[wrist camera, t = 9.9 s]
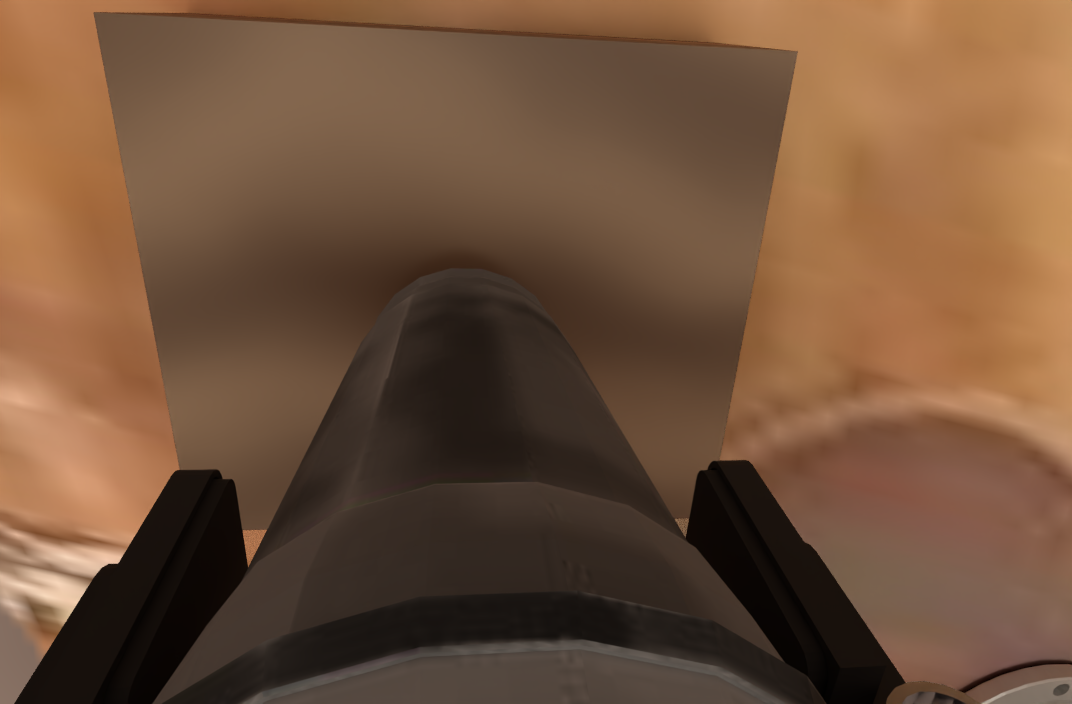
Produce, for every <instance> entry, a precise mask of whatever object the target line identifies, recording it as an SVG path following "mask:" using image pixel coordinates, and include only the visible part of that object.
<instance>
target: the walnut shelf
mask: <svg viewBox="0 0 1072 704" xmlns="http://www.w3.org/2000/svg"><path fill="white" fill-rule="evenodd" d="M94 17H95V23H96V28H97V33H98V39H99V44H100V49H101V54H102V60H103V65H104V70H105V76H106V81H107V86H108V92H109V97H110V102H111V107H112V113H113V118H114V123H115V129H116V134H117V139H118V145H119V150H120V155H121V160H122V166H123V171H124V176H125V182H126V187H127V192H128V198H129V203H130V208H131V213H132V219H133V224H134V229H135V235H136V240H137V245H138V251H139V256H140V261H141V266H142V272H143V277H144V282H145V288H146V293H147V298H148V303H149V309H150V314H151V319H152V325H153V330H154V335H155V341H156V346H157V351H158V356H159V362H160V367H161V372H162V378H163V383H164V388H165V394H166V399H167V404H168V409H169V415H170V420H171V425H172V431H173V436H174V441H175V447H176V452H177V457H178V462H179V468H180V470H207V469H217V470H219V471H220V473H221V475H222V478H223V479H232V480H233V481H234V483H235V486H236V492H237V498H238V505H239V511H240V518H241V525H242V530H265V529H268V527H269V525H270V523H271V521H272V519H273V517H274V515H275V513H276V511H277V509H278V507H279V505H280V503H281V501H282V499H283V497H284V495H285V493H286V491H287V489H288V487H289V485H290V483H291V481H292V480H293V478H294V476H295V474H296V472H297V470H298V468H299V466H300V464H301V462H302V460H303V458H304V456H305V454H306V452H307V450H308V448H309V446H310V444H311V442H312V440H313V438H314V436H315V434H316V432H317V430H318V428H319V426H320V424H321V422H322V420H323V418H324V416H325V414H326V412H327V410H328V408H329V406H330V404H331V402H332V400H333V398H334V396H335V394H336V392H337V390H338V388H339V386H340V384H341V382H342V380H343V378H344V376H345V374H346V372H347V370H348V368H349V366H350V364H351V362H352V360H353V358H354V356H355V354H356V352H357V350H358V348H359V346H360V344H361V342H362V341H363V339H364V338H365V337H366V335H367V334H368V333H369V331H370V330H371V329H372V327H373V326H374V325H375V323H376V320H377V317H378V316H379V315H380V313H381V312H382V311H383V309H384V308H385V307H386V305H387V304H388V303H389V301H390V300H391V299H392V297H393V296H394V295H395V294H396V293H398V292H399V291H401V290H402V289H403V288H405V287H406V286H408V285H409V284H411V283H412V282H414V281H415V280H417V279H418V278H420V277H423V276H426V275H429V274H433V273H436V272H440V271H443V270H447V269H450V268H460V269H484V270H487V271H490V272H493V273H496V274H499V275H502V276H505V277H508V278H511V279H513V280H514V281H516V282H517V283H518V284H520V285H521V286H522V287H524V288H525V289H527V290H528V291H529V292H531V293H532V294H533V295H535V296H536V298H537V299H538V300H539V302H540V303H541V305H542V306H543V308H544V309H545V310H546V312H547V313H548V315H550V316H551V318H552V319H553V320H554V322H555V323H556V325H557V326H558V328H559V329H560V330H561V332H562V333H563V335H564V336H565V337H566V339H567V340H568V342H569V343H570V345H571V347H572V348H573V350H574V352H575V353H576V355H577V357H578V358H579V360H580V362H581V363H582V365H583V367H584V368H585V370H586V372H587V373H588V375H589V377H590V379H591V380H592V382H593V384H594V385H595V387H596V389H597V390H598V392H599V394H600V395H601V397H602V399H603V400H604V402H605V404H606V405H607V407H608V409H609V410H610V412H611V414H612V415H613V417H614V419H615V421H616V422H617V424H618V426H619V427H620V429H621V431H622V432H623V434H624V436H625V437H626V439H627V441H628V442H629V444H630V446H631V447H632V449H633V451H634V452H635V454H636V456H637V457H638V459H639V461H640V463H641V464H642V466H643V468H644V469H645V471H646V473H647V474H648V476H649V478H650V479H651V481H652V483H653V484H654V486H655V488H656V489H657V491H658V493H659V494H660V496H661V498H662V499H663V501H664V503H665V505H666V506H667V508H668V510H669V511H670V513H671V515H672V516H673V518H674V519H677V518H689V517H690V511H691V506H692V500H693V495H694V489H695V483H696V478H697V474H698V473H699V471H701V470H707V469H708V466H709V464H710V463H711V462H712V461H719V460H720V455H721V449H722V444H723V439H724V434H725V428H726V423H727V418H728V413H729V408H730V402H731V397H732V392H733V387H734V382H735V376H736V371H737V366H738V361H739V355H740V350H741V345H742V340H743V335H744V329H745V324H746V319H747V314H748V308H749V303H750V298H751V293H752V288H753V282H754V277H755V272H756V267H757V261H758V256H759V251H760V246H761V241H762V235H763V230H764V225H765V220H766V214H767V209H768V204H769V199H770V194H771V188H772V183H773V178H774V173H775V167H776V162H777V157H778V152H779V147H780V141H781V136H782V131H783V126H784V120H785V115H786V110H787V105H788V100H789V94H790V89H791V84H792V79H793V74H794V68H795V63H796V58H797V53H798V51H789V50H779V49H769V48H760V47H750V46H740V45H731V44H721V43H708V42H690V41H673V40H655V39H637V38H619V37H601V36H584V35H566V34H548V33H530V32H512V31H495V30H477V29H459V28H441V27H423V26H406V25H388V24H370V23H352V22H334V21H317V20H299V19H281V18H263V17H245V16H228V15H210V14H192V13H108V12H94Z"/></svg>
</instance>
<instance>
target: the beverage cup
mask: <svg viewBox="0 0 1072 704" xmlns="http://www.w3.org/2000/svg"><path fill="white" fill-rule="evenodd" d="M152 704H826V702H825V701H824V699H823V698H822V697H821V695H820V694H819V692H818V691H817V689H816V688H815V687H814V685H813V684H812V682H811V681H810V679H809V678H808V677H807V675H805V674H803V673H801V672H800V671H798V670H796V669H795V668H793V667H791V666H790V665H788V664H786V663H785V662H784V661H783V659H782V658H781V657H780V655H779V654H778V652H777V651H776V650H775V648H774V647H773V645H772V644H771V643H770V641H769V640H768V638H767V637H766V636H765V634H764V633H763V631H762V630H761V629H760V627H759V626H758V624H757V623H756V622H755V620H754V619H753V617H752V616H751V615H750V614H749V612H748V611H747V610H746V609H745V607H744V606H743V605H742V604H741V602H740V601H739V600H738V599H737V598H736V596H735V595H734V594H733V593H732V591H731V590H730V589H729V588H728V587H727V585H726V584H725V583H724V582H723V580H722V579H721V578H720V577H719V575H718V574H717V573H716V572H715V571H714V569H713V568H712V567H711V566H710V564H709V563H708V562H707V561H706V560H705V558H704V557H703V556H702V555H701V553H700V552H699V551H698V550H697V548H695V547H694V546H692V545H691V544H689V543H688V541H687V540H686V538H685V536H684V535H683V533H682V531H681V530H680V528H679V526H678V525H677V523H676V521H675V520H674V518H673V516H672V515H671V513H670V511H669V510H668V508H667V506H666V505H665V503H664V501H663V499H662V498H661V496H660V494H659V493H658V491H657V489H656V488H655V486H654V484H653V483H652V481H651V479H650V478H649V476H648V474H647V473H646V471H645V469H644V468H643V466H642V464H641V463H640V461H639V459H638V457H637V456H636V454H635V452H634V451H633V449H632V447H631V446H630V444H629V442H628V441H627V439H626V437H625V436H624V434H623V432H622V431H621V429H620V427H619V426H618V424H617V422H616V421H615V419H614V417H613V415H612V414H611V412H610V410H609V409H608V407H607V405H606V404H605V402H604V400H603V399H602V397H601V395H600V394H599V392H598V390H597V389H596V387H595V385H594V384H593V382H592V380H591V379H590V377H589V375H588V373H587V372H586V370H585V368H584V367H583V365H582V363H581V362H580V360H579V358H578V357H577V355H576V353H575V352H574V350H573V348H572V347H571V345H570V343H569V342H568V340H567V339H566V337H565V336H564V335H563V333H562V332H561V330H560V329H559V328H558V326H557V325H556V323H555V322H554V320H553V319H552V318H551V316H550V315H548V313H547V312H546V310H545V309H544V308H543V306H542V305H541V303H540V302H539V300H538V299H537V298H536V296H535V295H533V294H532V293H531V292H529V291H528V290H527V289H525V288H524V287H522V286H521V285H520V284H518V283H517V282H516V281H514V280H513V279H511V278H508V277H505V276H502V275H499V274H496V273H493V272H490V271H487V270H484V269H460V268H450V269H447V270H443V271H440V272H436V273H433V274H429V275H426V276H423V277H420V278H418V279H417V280H415V281H414V282H412V283H411V284H409V285H408V286H406V287H405V288H403V289H402V290H401V291H399V292H398V293H396V294H395V295H394V296H393V297H392V299H391V300H390V301H389V303H388V304H387V305H386V307H385V308H384V309H383V311H382V312H381V313H380V315H379V316H378V317H377V320H376V323H375V325H374V326H373V327H372V329H371V330H370V331H369V333H368V334H367V335H366V337H365V338H364V339H363V341H362V342H361V344H360V346H359V348H358V350H357V352H356V354H355V356H354V358H353V360H352V362H351V364H350V366H349V368H348V370H347V372H346V374H345V376H344V378H343V380H342V382H341V384H340V386H339V388H338V390H337V392H336V394H335V396H334V398H333V400H332V402H331V404H330V406H329V408H328V410H327V412H326V414H325V416H324V418H323V420H322V422H321V424H320V426H319V428H318V430H317V432H316V434H315V436H314V438H313V440H312V442H311V444H310V446H309V448H308V450H307V452H306V454H305V456H304V458H303V460H302V462H301V464H300V466H299V468H298V470H297V472H296V474H295V476H294V478H293V480H292V481H291V483H290V485H289V487H288V489H287V491H286V493H285V495H284V497H283V499H282V501H281V503H280V505H279V507H278V509H277V511H276V513H275V515H274V517H273V519H272V521H271V523H270V525H269V527H268V529H267V531H266V533H265V535H264V537H263V539H262V541H261V543H260V545H259V547H258V549H257V551H256V553H255V555H254V557H253V559H252V561H251V563H250V565H249V567H248V569H247V571H246V573H245V575H244V577H243V579H242V581H241V583H240V584H239V586H238V587H237V588H236V589H235V591H234V592H233V593H232V594H231V596H230V597H229V598H228V599H227V601H226V602H225V603H224V604H223V606H222V607H221V608H220V609H219V611H218V612H217V613H216V614H215V616H214V617H213V618H212V619H211V621H210V622H209V623H208V624H207V626H206V627H205V629H204V630H203V631H202V633H201V634H200V636H199V637H198V639H197V640H196V641H195V643H194V644H193V646H192V647H191V649H190V650H189V652H188V653H187V654H186V656H185V657H184V659H183V660H182V662H181V663H180V665H179V666H178V667H177V669H176V670H175V672H174V673H173V675H172V676H171V677H170V679H169V680H168V682H167V683H166V685H165V686H164V688H163V689H162V690H161V692H160V693H159V695H158V696H157V698H156V699H155V701H154V702H153V703H152Z"/></svg>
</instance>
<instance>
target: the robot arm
mask: <svg viewBox="0 0 1072 704" xmlns="http://www.w3.org/2000/svg"><path fill="white" fill-rule="evenodd" d="M686 540H687V541H688V543H689V544H691V545H692V546H694V547H695V548H697V550H698V551H699V552H700V553H701V555H702V556H703V557H704V558H705V560H706V561H707V562H708V563H709V564H710V566H711V567H712V568H713V569H714V571H715V572H716V573H717V574H718V575H719V577H720V578H721V579H722V580H723V582H724V583H725V584H726V585H727V587H728V588H729V589H730V590H731V591H732V593H733V594H734V595H735V596H736V598H737V599H738V600H739V601H740V602H741V604H742V605H743V606H744V607H745V609H746V610H747V611H748V612H749V614H750V615H751V616H752V617H753V619H754V620H755V622H756V623H757V624H758V626H759V627H760V629H761V630H762V631H763V633H764V634H765V636H766V637H767V638H768V640H769V641H770V643H771V644H772V645H773V647H774V648H775V650H776V651H777V652H778V654H779V655H780V657H781V658H782V659H783V661H784V662H785V663H786V664H788V665H790V666H791V667H793V668H795V669H796V670H798V671H800V672H801V673H803V674H805V675H807V677H808V678H809V679H810V681H811V682H812V684H813V685H814V687H815V688H816V689H817V691H818V692H819V694H820V695H821V697H822V698H823V699H824V701H825V702H826V704H1072V665H1069V664H1050V665H1041V666H1034V667H1028V668H1023V669H1020V670H1016V671H1013V672H1010V673H1006V674H1003V675H1000V676H998V677H996V678H993V679H991V680H989V681H986V682H984V683H981V684H980V685H978V686H976V687H974V688H973V689H971V690H969V691H967V692H965V693H963V692H961V691H958V690H956V689H953V688H951V687H948V686H946V685H943V684H937V683H932V682H927V681H918V682H907V683H905V681H904V680H903V678H902V677H901V675H900V674H899V672H898V671H897V669H896V668H895V666H894V665H893V663H892V662H891V661H890V659H889V658H888V656H887V655H886V653H885V652H884V650H883V649H882V647H881V646H880V644H879V643H878V641H877V640H876V639H875V637H874V636H873V634H872V633H871V631H870V630H869V628H868V627H867V625H866V624H865V622H864V621H863V619H862V618H861V616H860V615H859V614H858V612H857V611H856V609H855V608H854V606H853V605H852V603H851V602H850V600H849V599H848V597H847V596H846V594H845V593H844V592H843V590H842V589H841V587H840V586H839V584H838V583H837V581H836V580H835V578H834V577H833V575H832V574H831V572H830V571H829V569H828V568H827V567H826V565H825V564H824V562H823V561H822V559H821V558H820V556H819V555H818V553H817V552H816V551H815V550H814V549H813V547H812V546H811V545H809V544H807V543H805V542H804V541H803V540H802V538H801V537H800V535H799V534H798V532H797V531H796V529H795V528H794V526H793V525H792V523H791V522H790V520H789V519H788V517H787V516H786V514H785V513H784V511H783V510H782V508H781V507H780V506H779V504H778V503H777V501H776V500H775V498H774V497H773V495H772V494H771V492H770V491H769V489H768V488H767V486H766V485H765V483H764V482H763V480H762V479H761V477H760V476H759V474H758V473H757V471H756V470H755V468H754V467H753V465H752V464H751V463H750V462H749V461H746V460H731V461H712V462H711V463H710V464H709V466H708V469H707V470H701V471H699V473H698V474H697V478H696V483H695V489H694V495H693V500H692V506H691V511H690V517H689V523H688V528H687V534H686ZM247 569H248V564H247V558H246V551H245V544H244V538H243V531H242V525H241V518H240V511H239V505H238V498H237V492H236V486H235V483H234V481H233V480H232V479H223V478H222V475H221V473H220V471H219V470H217V469H207V470H177V471H175V472H174V473H173V474H172V476H171V477H170V479H169V481H168V482H167V484H166V486H165V487H164V489H163V491H162V492H161V494H160V496H159V497H158V499H157V501H156V502H155V504H154V505H153V507H152V509H151V510H150V512H149V514H148V515H147V517H146V519H145V520H144V522H143V524H142V525H141V527H140V529H139V530H138V532H137V534H136V535H135V537H134V539H133V540H132V542H131V544H130V545H129V547H128V549H127V550H126V552H125V553H124V555H123V557H122V558H121V560H120V562H119V563H118V564H108V565H106V566H104V567H103V568H101V569H100V571H99V572H98V573H97V574H96V576H95V577H94V578H93V580H92V582H91V583H90V585H89V586H88V588H87V589H86V591H85V593H84V594H83V596H82V597H81V599H80V601H79V602H78V604H77V605H76V607H75V608H74V610H73V612H72V613H71V615H70V616H69V618H68V620H67V621H66V623H65V624H64V626H63V627H62V629H61V631H60V632H59V634H58V635H57V637H56V638H55V640H54V642H53V643H52V645H51V646H50V648H49V650H48V651H47V653H46V654H45V656H44V657H43V659H42V661H41V662H40V664H39V665H38V667H37V669H36V670H35V672H34V673H33V675H32V676H31V678H30V680H29V681H28V683H27V684H26V686H25V687H24V689H23V691H22V692H21V694H20V695H19V697H18V699H17V700H16V702H15V703H14V704H152V703H153V702H154V701H155V699H156V698H157V696H158V695H159V693H160V692H161V690H162V689H163V688H164V686H165V685H166V683H167V682H168V680H169V679H170V677H171V676H172V675H173V673H174V672H175V670H176V669H177V667H178V666H179V665H180V663H181V662H182V660H183V659H184V657H185V656H186V654H187V653H188V652H189V650H190V649H191V647H192V646H193V644H194V643H195V641H196V640H197V639H198V637H199V636H200V634H201V633H202V631H203V630H204V629H205V627H206V626H207V624H208V623H209V622H210V621H211V619H212V618H213V617H214V616H215V614H216V613H217V612H218V611H219V609H220V608H221V607H222V606H223V604H224V603H225V602H226V601H227V599H228V598H229V597H230V596H231V594H232V593H233V592H234V591H235V589H236V588H237V587H238V586H239V584H240V583H241V581H242V579H243V577H244V575H245V573H246V571H247Z"/></svg>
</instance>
